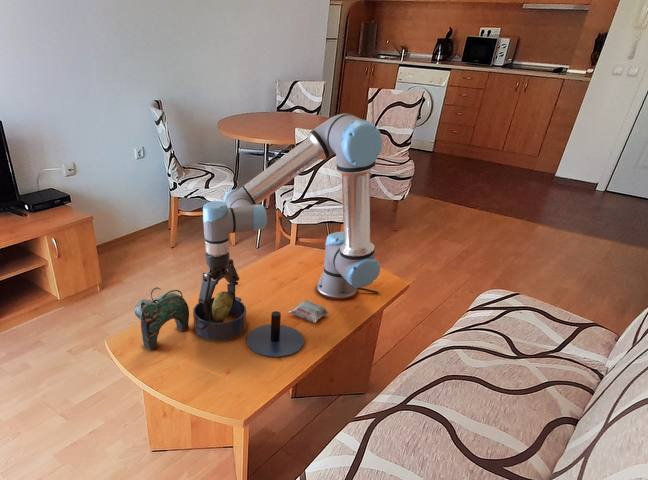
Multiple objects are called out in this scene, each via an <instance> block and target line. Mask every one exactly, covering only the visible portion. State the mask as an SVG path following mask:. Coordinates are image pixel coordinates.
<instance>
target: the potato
mask: <svg viewBox="0 0 648 480" xmlns="http://www.w3.org/2000/svg"><path fill="white" fill-rule="evenodd" d="M214 297H215V299H214V302H213V304H212V315H213V320H212V322H213V323H225V322H226V318H227V317H228V316H229V315H230V314H229V312H230V310H231V307H232V304H233V295H232V294H231V293H230V292H228V291H225V290H224V291H220V292H217V294H216V295H215V296H214ZM224 321H225V322H224Z"/></svg>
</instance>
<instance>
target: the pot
mask: <svg viewBox="0 0 648 480" xmlns="http://www.w3.org/2000/svg"><path fill="white" fill-rule="evenodd" d="M215 297H216V296H212V298H211V300H210V302H212V304H213V302H214V299H215ZM192 310H193V312H192V314H193V327H194V331H195V333H196V335H199V336H200V337H202V338H204V339H207V340H213V341H225V340H226V341H227V340H231V339H234V338H237V337H239V336H240V335H243V333H244V332H245V330H246V328H247V306H246V305H245V304H244V302H242V297H239V296H235V303H233V304H232V307H231V310H230V312H229V314H228V315H232V316H235V317H237V318H236V319H233V320H230V321H225V322H223V323H213V322H212V321H211V320H208V319H205V312H204V308H203V304H201V303H199V302H198V303H196V304H195V306H194V307H193V309H192Z"/></svg>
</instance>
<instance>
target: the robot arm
mask: <svg viewBox="0 0 648 480" xmlns="http://www.w3.org/2000/svg"><path fill="white" fill-rule="evenodd" d="M382 149H383V137H382V134H381V132H380V129H378V127H377V126H376V125H374V124H373V123H372V122H371V121H368V120H366V119H362V118H359V117H358V116H356V115H354V114H351V113H346V112H345V113H339V114H336V115H333V116H332V117H329V118H328V119H326V120H325V121H324V122H322V123H321V124H319V125H317V126H316V127H315V128H313V129H312V130H311V131H310V132H308V134H307V137H306V139H304V140H303V141H302V142H300V143H299V144H298V145H296V146H295V147H293V148H292V149H291V150H290V151H289V152H287V153H285V154H284V155H283V156H281V157H280V158H279V159H277V160H275V162H273V163H272V164H271V165H270V166H268V167H267V168H266V169H264V170H263V171H262V172H260V173H259V174H257V175H256V176H255V177H253V178H252V179H251V180H249V181H247V183H245V184H244V185H243V186H241V187H239V189H230V190H228V191H227V192H226V193H225V194H224V196H223V201H220V200H218V201H217V200H211V201H207V202H206V203H205V204H204V205H203V207H202V222H203V234H204V248H205V250H204V251H205V264H206V265H207V267H208V271H207V272H203V273H202V280H201V286H200V291H199V296H198V301H197V302H198V303H201V304H203V308H204V312H205V319H208V320H211V321H212V320H213V315H212V302H210V300H211V298H213V295H214V293H215V292H214V291H215V289H216V286H217V285H218V284H219V282H220V281H221V280H222V279H225V280H226V282H227V285H226V286H227V287H226V288H227V291H226V292H230V293H231V294H232V295H233V303H235V297H236V286H238V285H239V281H240V277H239V274H238V271H237V269H236V267H235V265H234V259H232V258H230V238H229V237H230V236H229V234H236V233H245V232H256V231H259V230H264V229H265V228H266V226H267V222H268V216H267V210H266V208H265V206H264V205H263V204H260V203H261V202H263V201H264V200H266V199H268V198H269V197H270V196H271V195H272V194H274V193H276V192H277V191H278V190H280V189H281V188H282V187H283V186H285V185H287V184H288V183H289V182H291V181H292V180H294V179H295V178H296V177H297V176H299V175H300V174H302V173H303V172H304V171H306V170H307V169H308V168H310V167H311V166H313V165H314V164H315V163H317V162H319V161H320V160H323V161H325V160H327V159H328V158H329V157H330V156H334V155H335V158H336V159H335V160H336V170H337V172H339V173H340V174H341V187H342V188H341V189H342V192H341V193H342V213H343V214H342V218H343V220H342V222H343V231H336V232H332V233H330V234H328V235H327V237H326V240H325V250H324V259H323V260H324V261H323V271H322V274H321V276H320V278H319V280H318V282H317V285H316V290H317V293H318V295H320V296H322V297H324V298H326V299H329V300H335V301H344V300H348V299H352V298H353V297H355V296H356V295H357V293H358V290H360V291H365V292H370V293H373V294H379V291H378V290H373V289H368V288H366V287H368V286H370V285H371V284H373V283H374V282H375V280H377V279H378V277H379V275H380V272H381V265H380V263H379V261H378V260H377V259H376V257H375V256H376V255H375V254H376V253H375V251H376V250H375V248H376V247H375V244H374V243H373V242H372V241H371V171H372V170H373V169H374V168H375V167H376V161H377V160H378V156H380V154H381V152H382Z"/></svg>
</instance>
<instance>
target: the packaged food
mask: <svg viewBox="0 0 648 480" xmlns="http://www.w3.org/2000/svg"><path fill="white" fill-rule="evenodd" d="M288 313H289V314H293V316H295V317H298V318H301V319H304V320H306V321H309V322H312V323H317V322H318V321H319V320H320V319H321V318H323V317H325V316H327V315H329V314H330V312H329V311H328V310H327V309H326V308H325V307H324V306H322V305H320V304H316V303H313V302H311V301H309V300H304V301H302V302H300V303H299V304H298V305H297V306H296V307H295V308H294V309H291V310H289V311H288Z"/></svg>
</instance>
